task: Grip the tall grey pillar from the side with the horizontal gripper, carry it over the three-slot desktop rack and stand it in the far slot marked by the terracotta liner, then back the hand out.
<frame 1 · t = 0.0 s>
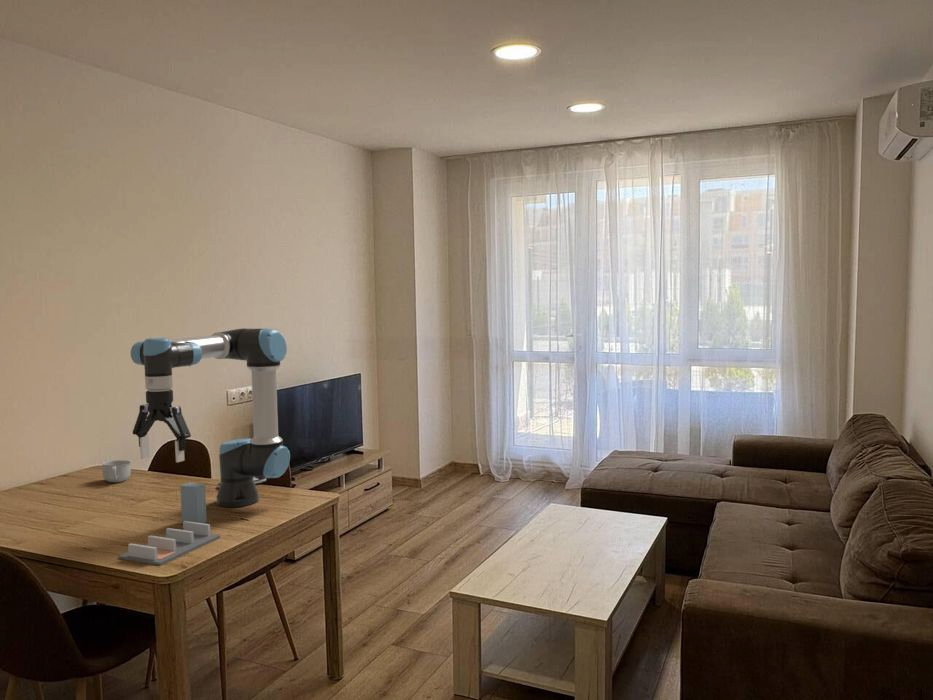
hand: (162, 459, 220), 28 cm above the table, tool pointing down, fingers open, 13 cm apart
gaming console: (242, 486, 297), on the table
teacup: (116, 482, 303), on the table
tall grey pillar: (194, 522, 249), on the table
rack: (171, 547, 225), on the table
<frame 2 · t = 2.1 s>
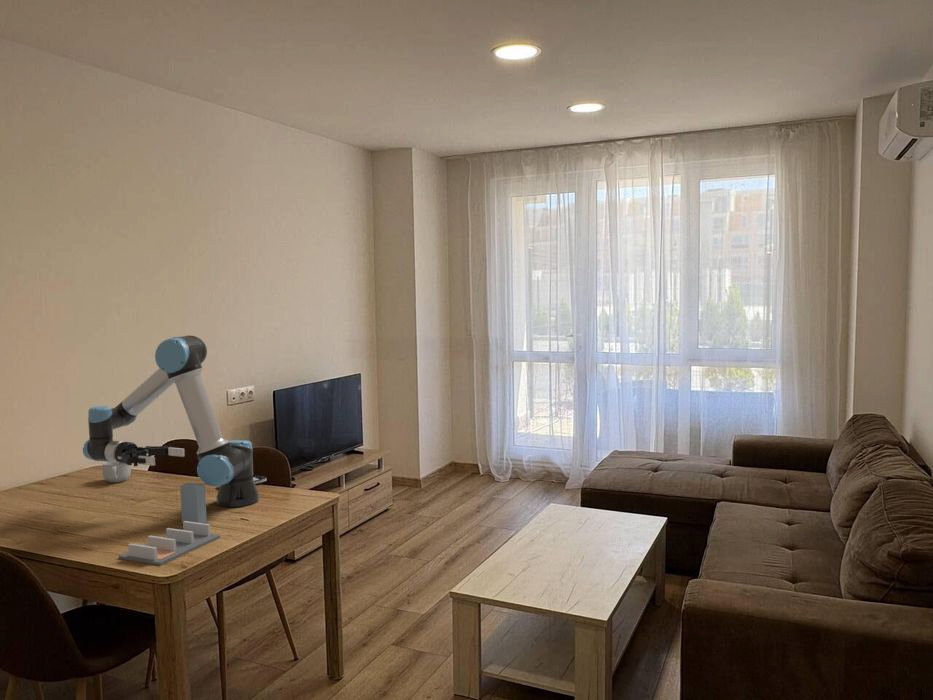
hand: (169, 456, 251), 22 cm above the table, tool horizontal, fingers open, 13 cm apart
nothing on the table moved.
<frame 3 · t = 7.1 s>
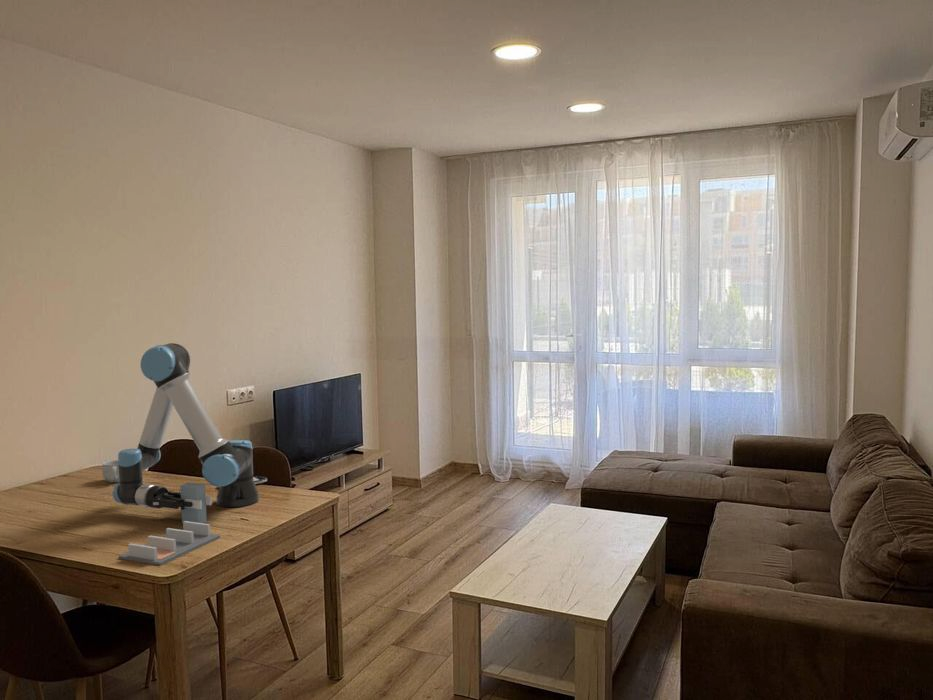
hand: (205, 503, 247), 7 cm above the table, tool horizontal, fingers closed on tall grey pillar, 4 cm apart
tall grey pillar: (194, 522, 249), on the table, touching gripper
everything else where it was.
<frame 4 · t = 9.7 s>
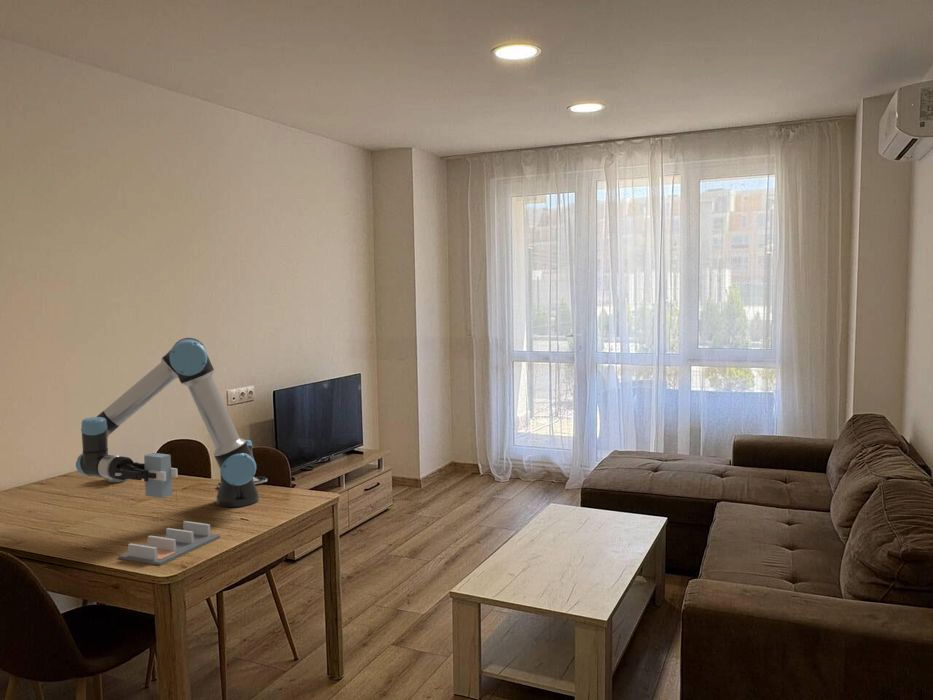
hand: (170, 474, 230), 21 cm above the table, tool horizontal, fingers closed on tall grey pillar, 4 cm apart
tall grey pillar: (158, 495, 233), point 14 cm above the table, touching gripper
everything else where it was.
when the fingers open (10 cm above the table, at t = 12.4 s): tall grey pillar drops 1 cm, resting on rack.
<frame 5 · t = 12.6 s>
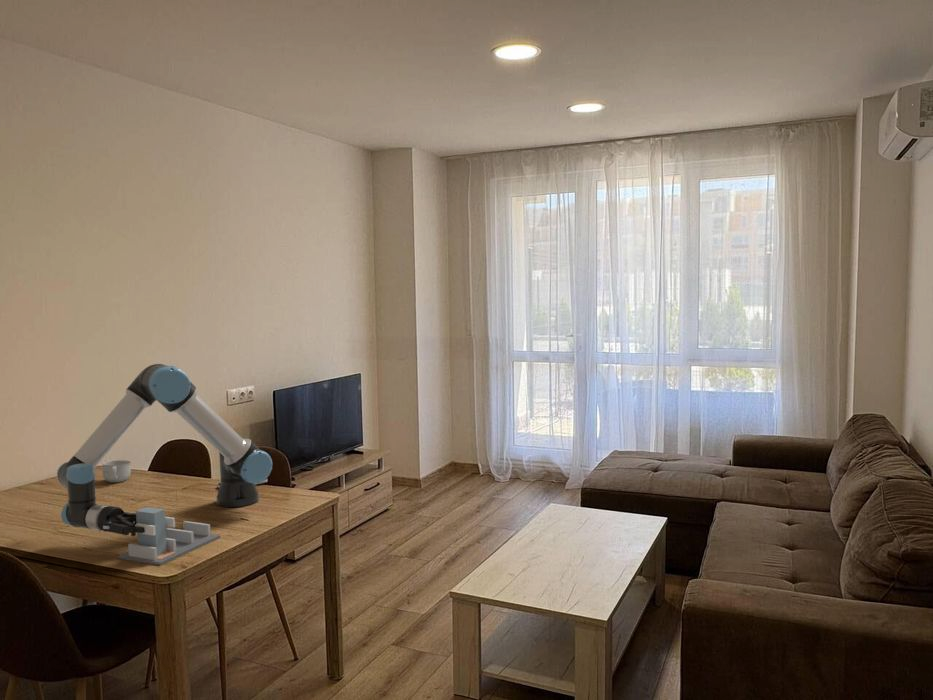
hand: (164, 526, 215), 10 cm above the table, tool horizontal, fingers open, 7 cm apart
tall grey pillar: (152, 552, 218), point 1 cm above the table, touching rack
everything else where it was.
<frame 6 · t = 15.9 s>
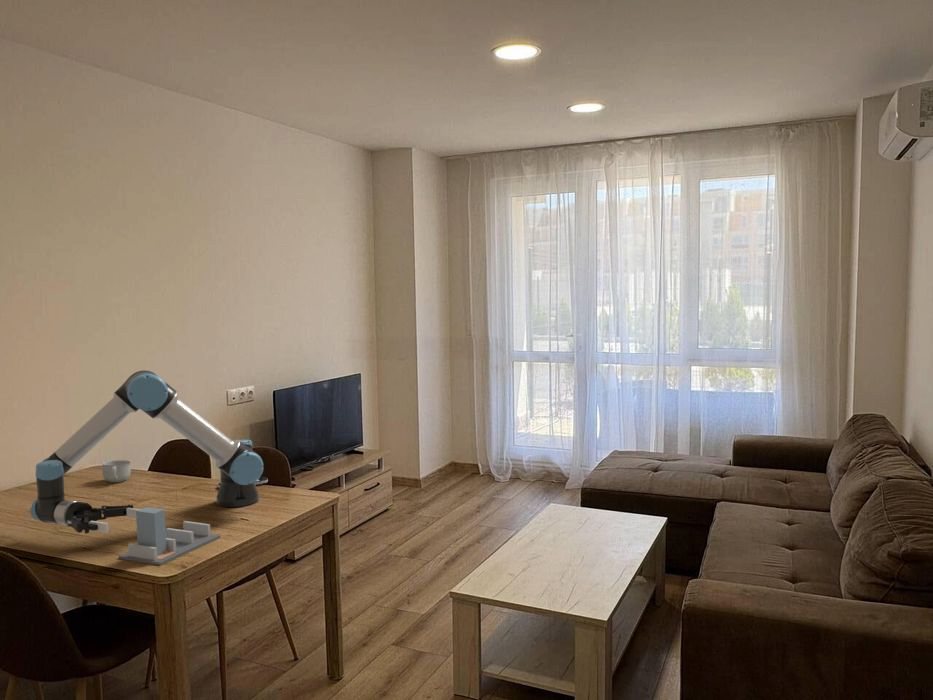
hand: (126, 521, 221), 10 cm above the table, tool horizontal, fingers open, 13 cm apart
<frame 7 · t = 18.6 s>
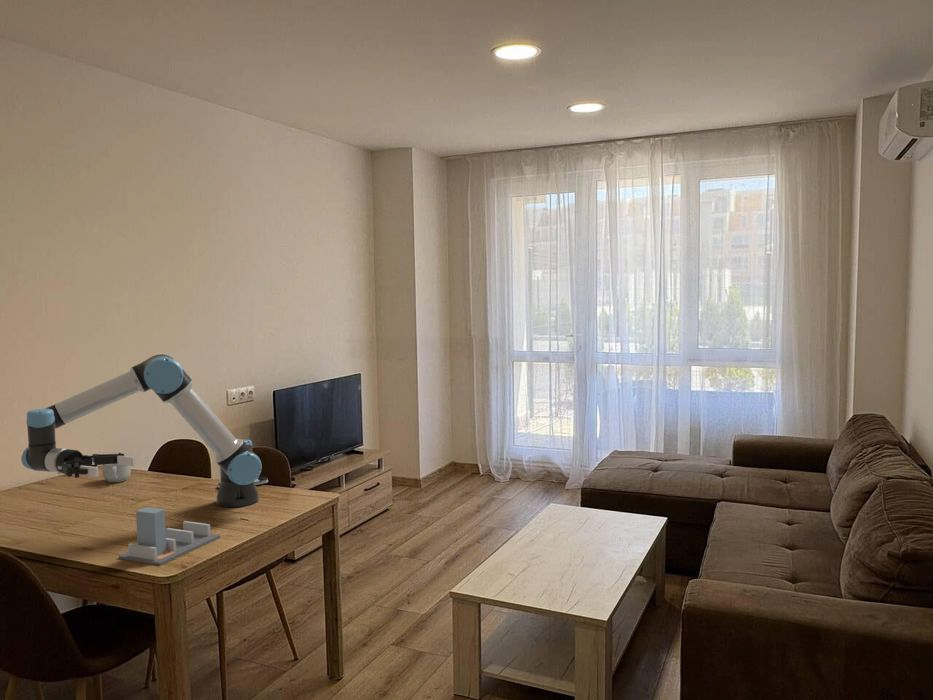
hand: (116, 466, 220), 26 cm above the table, tool horizontal, fingers open, 13 cm apart
at the end: tall grey pillar 0.1 cm from the target spot on the rack, point 0.9 cm above the rack's base; tall grey pillar tilted 0°; the gripper is holding nothing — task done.
